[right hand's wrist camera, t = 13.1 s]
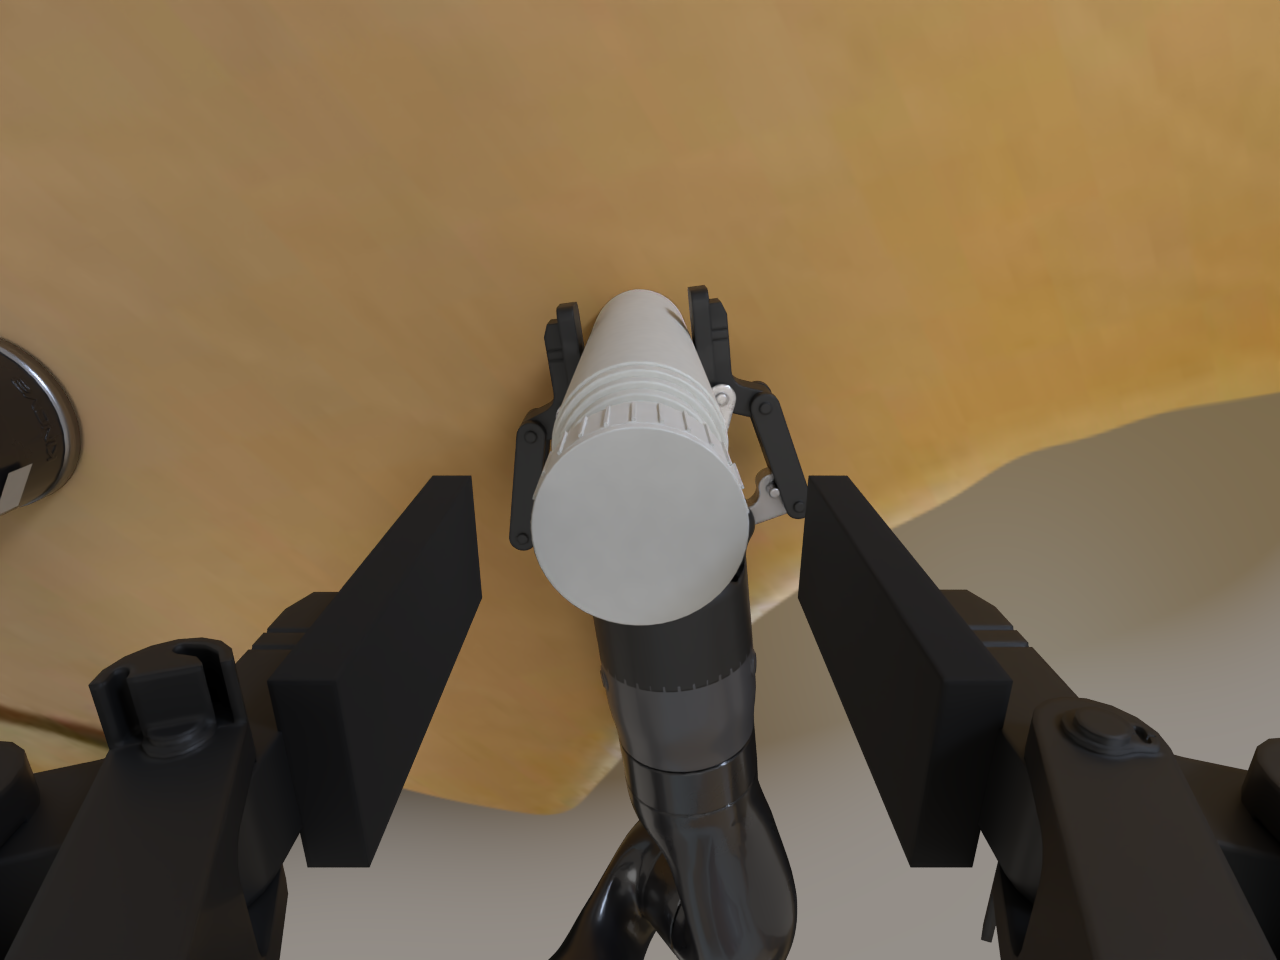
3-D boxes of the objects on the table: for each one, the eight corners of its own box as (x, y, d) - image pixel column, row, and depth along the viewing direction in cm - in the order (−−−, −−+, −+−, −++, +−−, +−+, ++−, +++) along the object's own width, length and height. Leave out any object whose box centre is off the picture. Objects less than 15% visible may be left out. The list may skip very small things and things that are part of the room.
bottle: (634, 269, 34) (624, 360, 13) (705, 331, 36) (805, 510, 14) (574, 342, 36) (476, 536, 14) (645, 401, 37) (653, 662, 15)
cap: (626, 356, 14) (624, 375, 13) (781, 484, 16) (799, 519, 14) (500, 508, 16) (483, 544, 14) (651, 618, 17) (653, 664, 15)
